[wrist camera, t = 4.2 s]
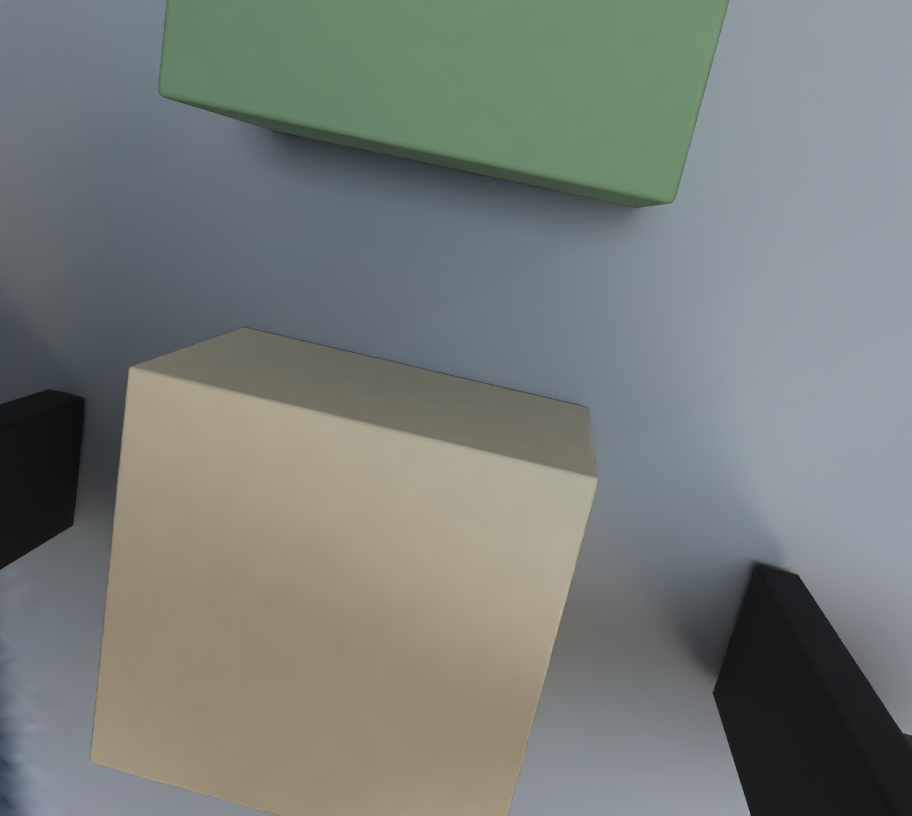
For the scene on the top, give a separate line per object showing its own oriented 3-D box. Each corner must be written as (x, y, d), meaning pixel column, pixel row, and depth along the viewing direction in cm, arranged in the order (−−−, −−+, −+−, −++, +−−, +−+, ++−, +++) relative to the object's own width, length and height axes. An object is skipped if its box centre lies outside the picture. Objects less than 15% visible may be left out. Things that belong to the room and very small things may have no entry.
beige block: (200, 632, 16) (88, 763, 12) (242, 326, 14) (127, 365, 11) (508, 714, 16) (491, 876, 12) (589, 406, 14) (599, 479, 10)
